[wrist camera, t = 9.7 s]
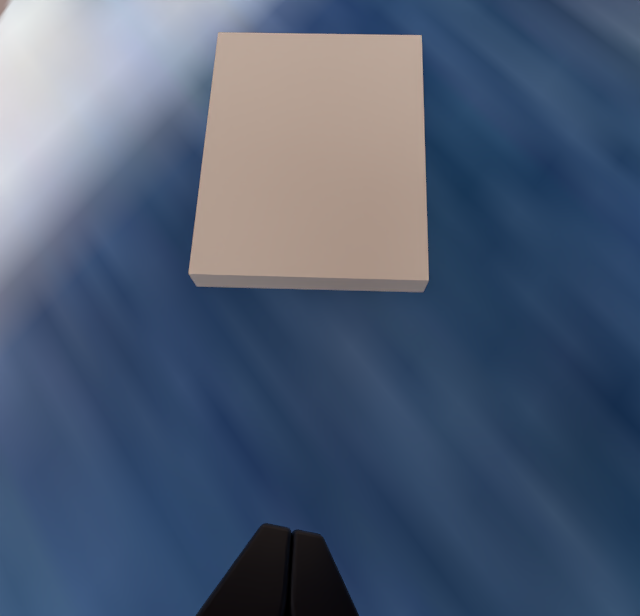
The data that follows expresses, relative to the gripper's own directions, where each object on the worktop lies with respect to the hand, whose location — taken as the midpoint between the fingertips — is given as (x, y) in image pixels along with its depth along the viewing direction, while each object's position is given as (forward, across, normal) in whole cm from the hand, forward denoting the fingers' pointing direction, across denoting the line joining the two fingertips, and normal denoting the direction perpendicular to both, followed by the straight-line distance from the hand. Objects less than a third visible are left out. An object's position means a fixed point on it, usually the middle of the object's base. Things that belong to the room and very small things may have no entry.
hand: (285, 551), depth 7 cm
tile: (+10, 0, 0) cm, 10 cm away
